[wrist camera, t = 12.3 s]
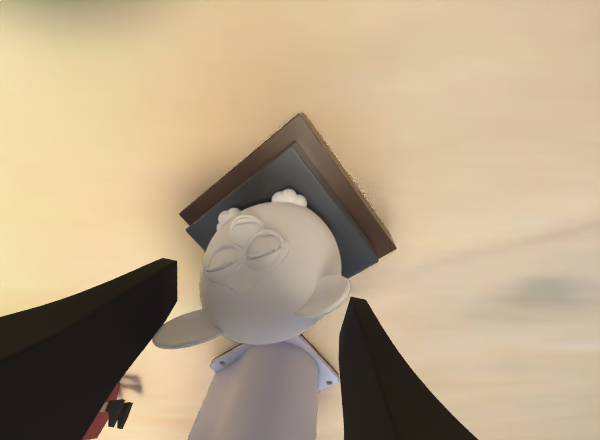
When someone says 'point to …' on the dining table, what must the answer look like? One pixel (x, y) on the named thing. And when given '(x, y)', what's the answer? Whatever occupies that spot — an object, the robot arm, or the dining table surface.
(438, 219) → the dining table surface
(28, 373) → the robot arm
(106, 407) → the toy
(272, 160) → the stack
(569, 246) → the dining table surface
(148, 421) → the dining table surface
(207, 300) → the figurine
